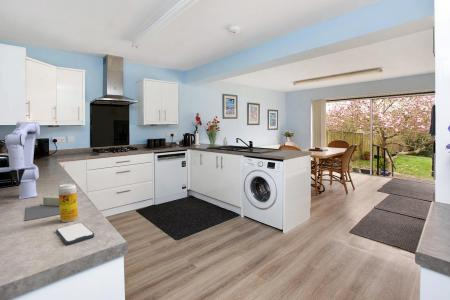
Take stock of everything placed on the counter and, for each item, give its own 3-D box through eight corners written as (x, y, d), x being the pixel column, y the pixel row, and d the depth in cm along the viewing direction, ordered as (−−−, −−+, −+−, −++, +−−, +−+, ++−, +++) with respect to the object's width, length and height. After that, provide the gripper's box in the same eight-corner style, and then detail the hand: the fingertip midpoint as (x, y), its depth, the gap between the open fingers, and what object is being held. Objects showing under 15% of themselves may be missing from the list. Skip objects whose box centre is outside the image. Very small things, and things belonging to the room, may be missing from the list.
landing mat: (26, 208, 112) (26, 207, 111) (63, 202, 121) (63, 201, 121) (24, 221, 96) (24, 220, 96) (68, 213, 106) (68, 212, 106)
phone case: (55, 233, 87) (66, 247, 76) (55, 229, 87) (66, 242, 76) (82, 226, 93) (95, 238, 82) (81, 222, 93) (95, 233, 82)
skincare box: (42, 205, 115) (63, 207, 113) (42, 196, 114) (63, 198, 112) (54, 201, 121) (74, 203, 119) (54, 193, 121) (74, 194, 119)
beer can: (59, 223, 94) (57, 187, 92) (61, 218, 99) (59, 184, 97) (77, 221, 96) (75, 185, 95) (78, 216, 102) (76, 182, 100)
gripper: (-5, 160, 109) (-3, 188, 110) (35, 157, 118) (37, 184, 119) (-3, 158, 114) (-1, 185, 115) (35, 156, 123) (37, 181, 124)
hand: (18, 184), depth 117 cm, fingers closed
